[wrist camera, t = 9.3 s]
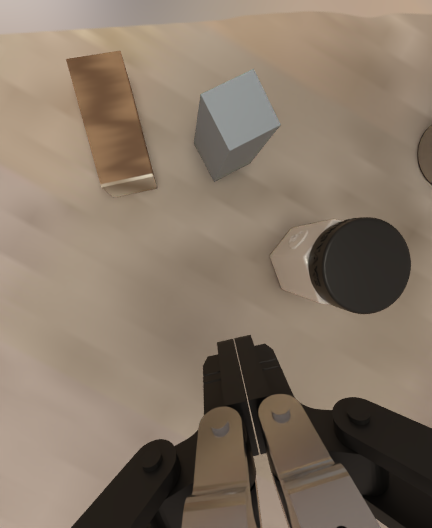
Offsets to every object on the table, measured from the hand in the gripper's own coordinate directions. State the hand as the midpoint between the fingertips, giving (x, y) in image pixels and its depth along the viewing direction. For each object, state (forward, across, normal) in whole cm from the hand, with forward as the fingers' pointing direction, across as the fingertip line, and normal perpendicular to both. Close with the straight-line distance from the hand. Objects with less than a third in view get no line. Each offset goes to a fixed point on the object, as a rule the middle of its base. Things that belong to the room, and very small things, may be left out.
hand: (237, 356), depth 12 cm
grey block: (+24, -4, -10) cm, 27 cm away
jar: (+22, -11, +5) cm, 25 cm away
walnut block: (+20, +7, -8) cm, 23 cm away
